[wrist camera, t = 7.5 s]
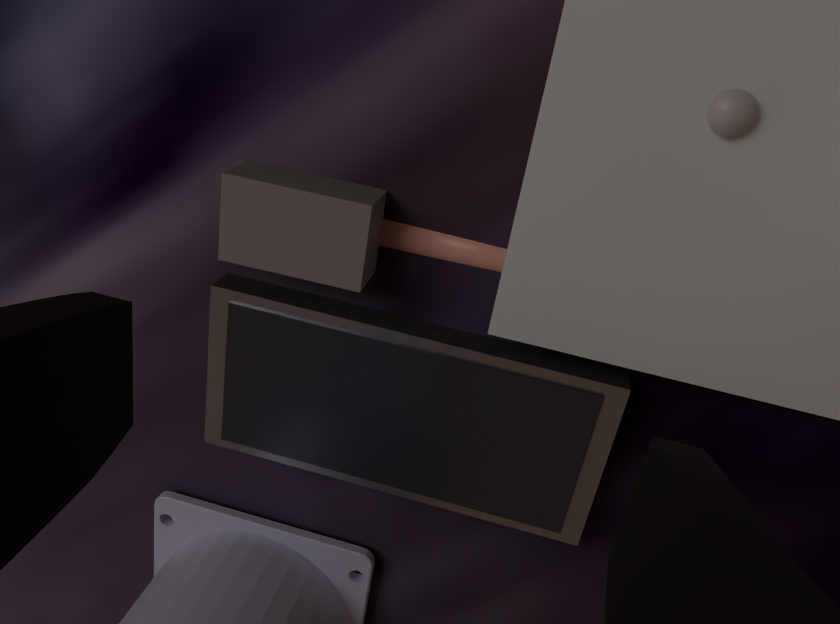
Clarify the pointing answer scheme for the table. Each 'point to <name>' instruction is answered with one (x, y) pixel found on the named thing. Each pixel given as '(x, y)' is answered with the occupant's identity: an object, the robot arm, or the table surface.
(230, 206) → the cable plug
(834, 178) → the outlet plate
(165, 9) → the table surface
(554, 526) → the phone
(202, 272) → the table surface
